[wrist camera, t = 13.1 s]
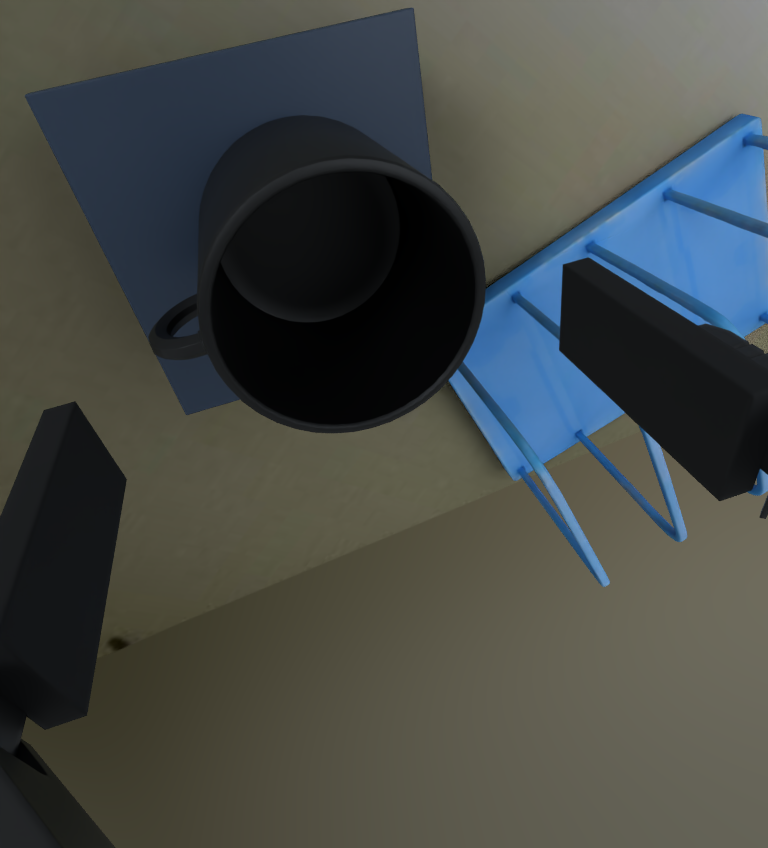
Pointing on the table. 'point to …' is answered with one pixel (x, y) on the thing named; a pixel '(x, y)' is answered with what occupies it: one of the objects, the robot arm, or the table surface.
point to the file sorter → (645, 269)
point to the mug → (328, 279)
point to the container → (216, 148)
